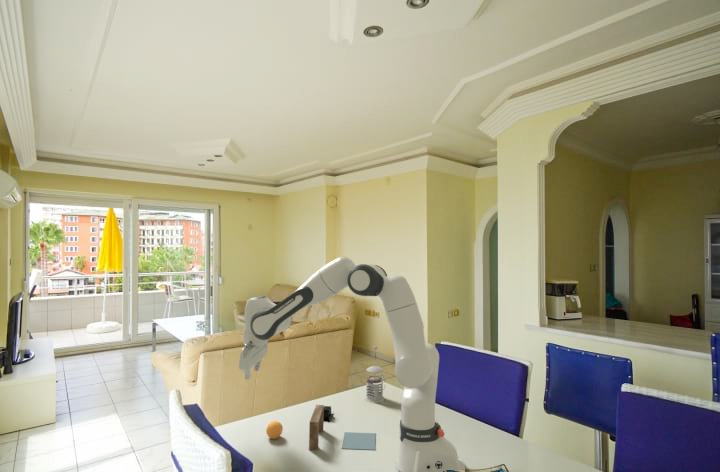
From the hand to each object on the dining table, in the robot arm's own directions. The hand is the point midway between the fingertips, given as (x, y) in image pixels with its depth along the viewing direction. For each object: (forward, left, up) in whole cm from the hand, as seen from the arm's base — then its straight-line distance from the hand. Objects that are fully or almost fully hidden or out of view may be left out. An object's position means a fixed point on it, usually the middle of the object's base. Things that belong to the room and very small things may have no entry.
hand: (252, 374), depth 146 cm
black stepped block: (-27, -17, -24) cm, 40 cm away
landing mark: (-41, +2, -23) cm, 47 cm away
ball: (-9, +2, -20) cm, 22 cm away
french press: (-47, -38, -23) cm, 65 cm away
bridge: (-25, +2, -23) cm, 34 cm away
